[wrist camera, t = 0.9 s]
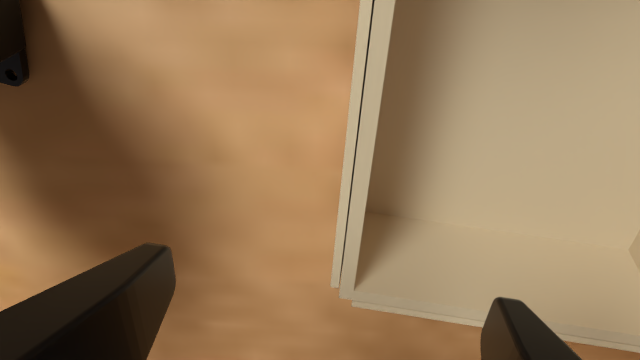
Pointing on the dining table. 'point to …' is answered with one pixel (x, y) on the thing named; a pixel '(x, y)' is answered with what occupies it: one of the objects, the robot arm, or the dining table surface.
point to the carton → (495, 164)
